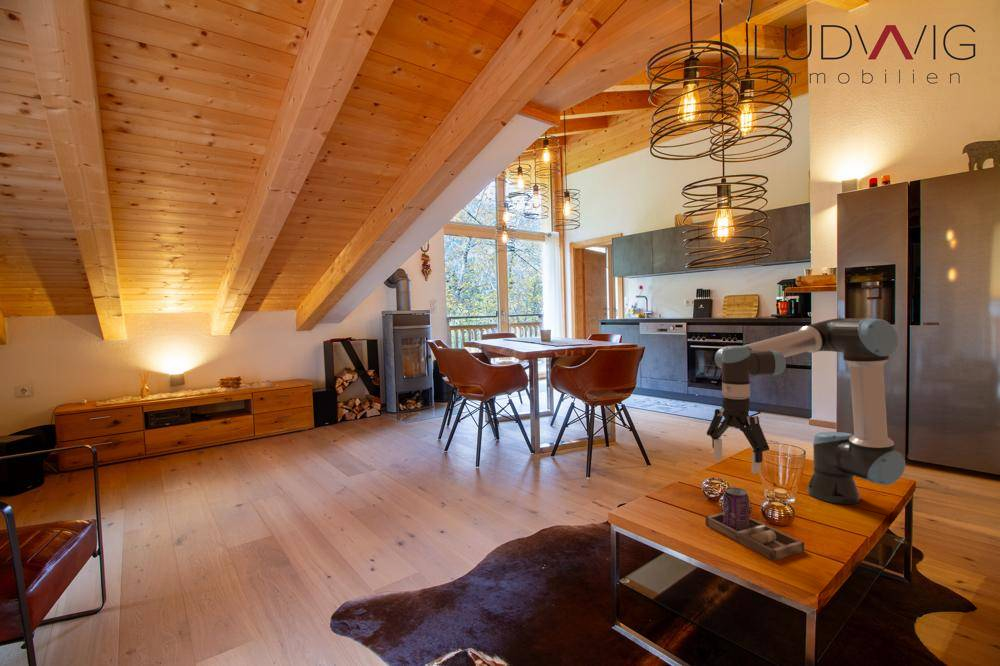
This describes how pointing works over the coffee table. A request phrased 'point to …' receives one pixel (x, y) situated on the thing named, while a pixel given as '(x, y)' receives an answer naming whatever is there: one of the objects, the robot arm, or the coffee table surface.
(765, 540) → the grey oblong lump
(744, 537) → the tray
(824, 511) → the coffee table surface
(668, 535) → the coffee table surface
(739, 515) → the beverage can
